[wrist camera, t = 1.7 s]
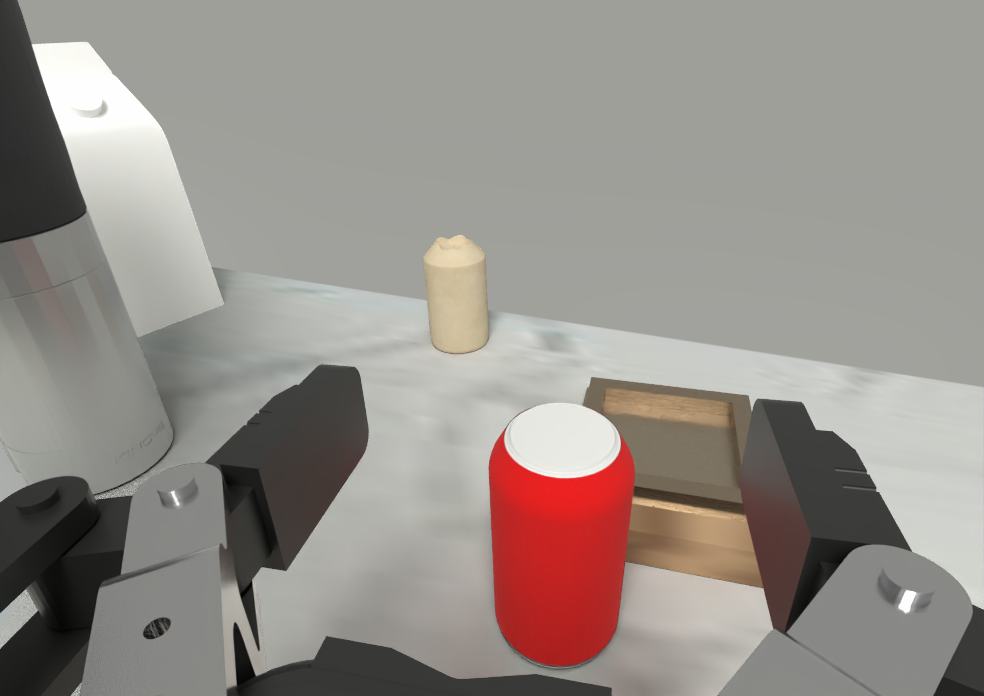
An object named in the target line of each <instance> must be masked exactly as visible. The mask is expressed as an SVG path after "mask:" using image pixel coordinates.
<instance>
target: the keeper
mask: <svg viewBox="0 0 984 696" xmlns="http://www.w3.org/2000/svg"><path fill="white" fill-rule="evenodd" d="M583 406H584V407H587V408H590V409H593V410H595V411H597V412H599V413H601V414H602V415H604V416H605V417H607V418H608V419H609V420H610V421H611V422H612V423H613V424H614V425H615V426H616V428H617V429H618V431H619V432H620V434H621V436H622V437H623V439H624V440H625V442H626V444H627V446H628V447H629V449H630V452H631V454H632V457H633V461H634V466H635V484H634V492H633V500H632V504H638V505H644V506H650V507H656V508H662V509H668V510H673V511H679V512H685V513H691V514H697V515H703V516H709V517H715V518H721V519H727V520H733V521H739V522H745V523H748V522H747V518H746V514H745V510H744V506H743V502H742V497H741V487H740V477H741V466H742V461H743V456H744V451H745V446H746V441H747V436H748V430H749V425H750V420H751V415H752V411H751V406H750V401H749V396H747V395H739V394H730V393H722V392H713V391H705V390H696V389H688V388H679V387H671V386H662V385H654V384H645V383H637V382H628V381H620V380H611V379H603V378H594V377H591V381H590V386H589V388H588V387H587V391H586V395H585V400H584V404H583Z"/></svg>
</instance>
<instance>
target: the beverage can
mask: <svg viewBox="0 0 984 696" xmlns="http://www.w3.org/2000/svg"><path fill="white" fill-rule="evenodd" d="M634 484H635V466H634V461H633V457H632V454H631V452H630V449H629V447H628V446H627V444H626V442H625V440H624V439H623V437H622V436H621V434H620V432H619V431H618V429H617V428H616V426H615V425H614V424H613V423H612V422H611V421H610V420H609V419H608V418H607V417H605V416H604V415H602V414H601V413H599V412H597V411H595V410H593V409H590V408H587V407H584V406H581V405H576V404H570V403H549V404H543V405H539V406H535V407H532V408H529V409H527V410H525V411H523V412H521V413H520V414H518V415H517V416H516V417H514V418H513V419H512V420H511V421H510V423H509V424H508V425H507V427H506V428H505V430H504V431H503V432H502V434H501V435H500V437H499V438H498V440H497V441H496V443H495V445H494V448H493V450H492V453H491V457H490V461H489V486H490V508H491V530H492V551H493V573H494V594H495V612H496V618H497V621H498V624H499V627H500V629H501V631H502V633H503V635H504V637H505V639H506V640H507V642H508V643H509V645H510V646H511V647H512V648H513V649H514V650H515V651H516V652H517V653H518V654H520V655H521V656H522V657H524V658H525V659H527V660H529V661H531V662H533V663H535V664H538V665H541V666H545V667H550V668H569V667H574V666H578V665H581V664H583V663H585V662H587V661H589V660H591V659H592V658H594V657H595V656H596V655H597V654H599V653H600V652H601V651H602V650H603V649H604V648H605V646H606V645H607V644H608V643H609V641H610V640H611V638H612V636H613V634H614V632H615V630H616V627H617V623H618V616H619V608H620V600H621V591H622V583H623V575H624V567H625V558H626V550H627V542H628V533H629V525H630V517H631V508H632V500H633V492H634Z"/></svg>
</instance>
